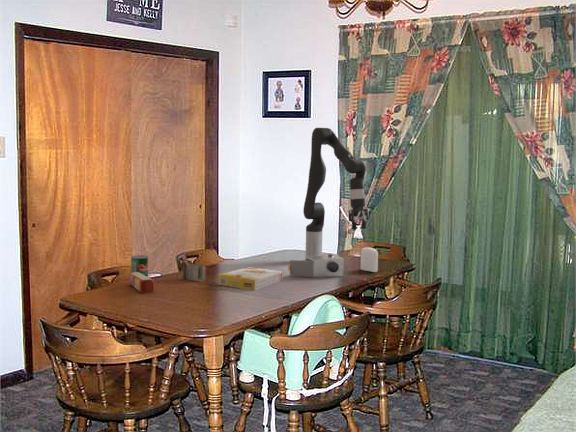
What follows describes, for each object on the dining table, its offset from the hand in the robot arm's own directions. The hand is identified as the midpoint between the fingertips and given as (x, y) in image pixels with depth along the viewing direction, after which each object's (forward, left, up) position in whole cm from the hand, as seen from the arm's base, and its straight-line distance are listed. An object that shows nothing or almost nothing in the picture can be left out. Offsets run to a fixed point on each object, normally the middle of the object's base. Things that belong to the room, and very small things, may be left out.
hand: (359, 229), depth 372 cm
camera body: (+4, -20, -22) cm, 30 cm away
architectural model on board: (+4, -87, -23) cm, 90 cm away
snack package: (+20, -114, -23) cm, 118 cm away
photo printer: (-1, +7, -23) cm, 24 cm away
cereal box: (+17, -62, -23) cm, 68 cm away
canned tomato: (-3, -112, -23) cm, 114 cm away
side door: (+8, -34, -22) cm, 42 cm away
